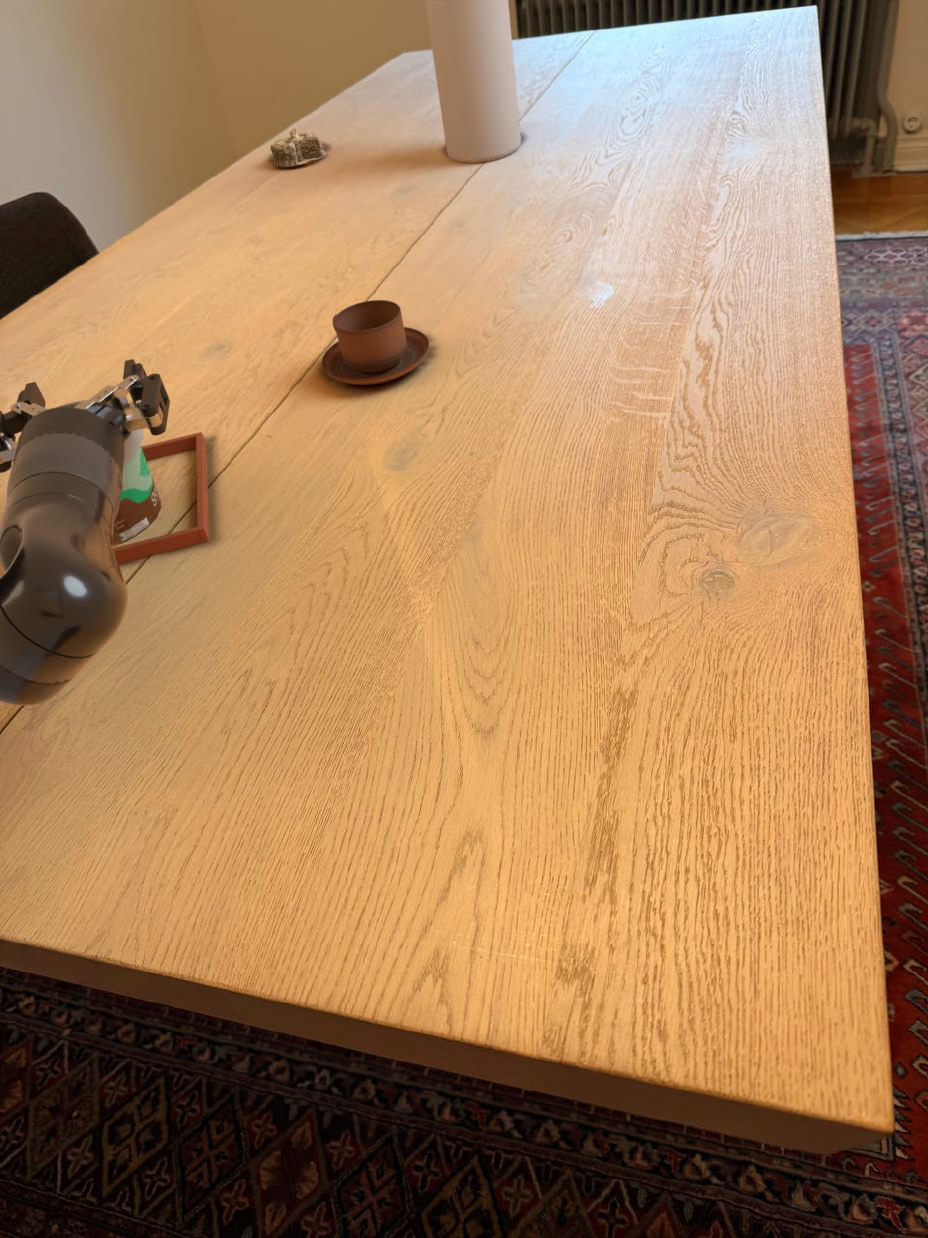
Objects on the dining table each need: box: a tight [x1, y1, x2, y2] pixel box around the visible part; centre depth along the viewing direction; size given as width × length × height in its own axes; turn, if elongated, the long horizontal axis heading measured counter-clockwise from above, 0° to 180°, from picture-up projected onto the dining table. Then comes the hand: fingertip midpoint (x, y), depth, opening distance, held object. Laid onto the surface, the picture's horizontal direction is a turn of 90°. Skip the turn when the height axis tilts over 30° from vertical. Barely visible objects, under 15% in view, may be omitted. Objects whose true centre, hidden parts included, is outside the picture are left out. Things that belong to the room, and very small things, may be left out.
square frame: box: [112, 431, 210, 565], centre depth 86 cm, size 13×17×2 cm
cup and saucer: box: [321, 299, 430, 386], centre depth 99 cm, size 12×12×6 cm
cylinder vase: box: [424, 0, 522, 164], centre depth 144 cm, size 12×12×25 cm
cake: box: [270, 128, 328, 168], centre depth 163 cm, size 10×10×5 cm
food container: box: [54, 400, 162, 544], centre depth 83 cm, size 12×6×10 cm, turn 33°
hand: (85, 380), depth 79 cm, fingers open, 8 cm apart
